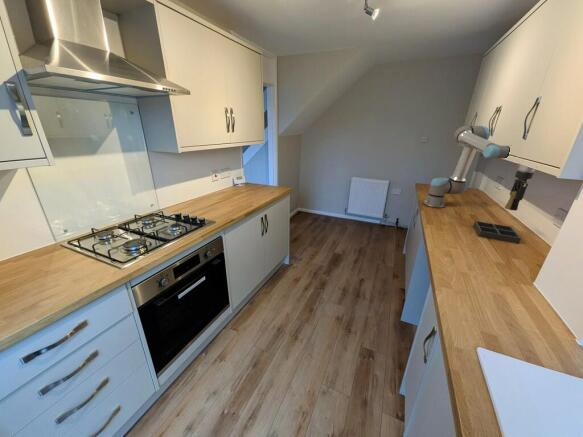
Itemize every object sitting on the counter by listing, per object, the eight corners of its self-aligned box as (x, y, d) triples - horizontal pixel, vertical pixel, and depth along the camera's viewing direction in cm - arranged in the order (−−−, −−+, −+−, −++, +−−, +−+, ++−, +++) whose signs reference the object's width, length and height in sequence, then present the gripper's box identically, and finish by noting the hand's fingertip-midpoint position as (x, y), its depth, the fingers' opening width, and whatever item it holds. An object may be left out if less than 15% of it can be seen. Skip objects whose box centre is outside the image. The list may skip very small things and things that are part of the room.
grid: (473, 225, 164) (475, 220, 162) (509, 231, 155) (511, 226, 154) (478, 236, 148) (480, 231, 146) (518, 243, 140) (521, 238, 138)
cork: (519, 210, 144) (526, 193, 140) (508, 209, 145) (515, 192, 141) (513, 207, 150) (519, 190, 145) (502, 206, 151) (508, 190, 147)
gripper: (512, 168, 148) (499, 203, 157) (522, 173, 132) (507, 211, 141) (528, 169, 145) (514, 205, 154) (540, 174, 129) (524, 214, 138)
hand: (511, 208), depth 147 cm, fingers closed on cork, 6 cm apart
